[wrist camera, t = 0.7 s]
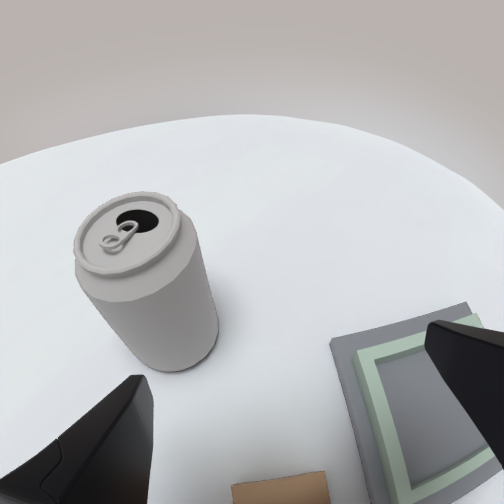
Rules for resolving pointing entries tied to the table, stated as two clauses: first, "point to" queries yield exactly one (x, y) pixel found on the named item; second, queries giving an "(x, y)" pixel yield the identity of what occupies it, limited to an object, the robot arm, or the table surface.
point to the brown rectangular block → (284, 490)
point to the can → (148, 279)
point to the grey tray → (410, 415)
